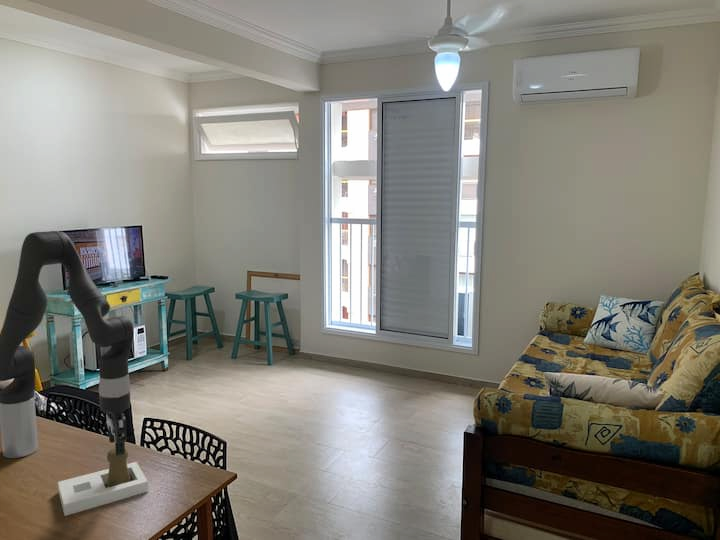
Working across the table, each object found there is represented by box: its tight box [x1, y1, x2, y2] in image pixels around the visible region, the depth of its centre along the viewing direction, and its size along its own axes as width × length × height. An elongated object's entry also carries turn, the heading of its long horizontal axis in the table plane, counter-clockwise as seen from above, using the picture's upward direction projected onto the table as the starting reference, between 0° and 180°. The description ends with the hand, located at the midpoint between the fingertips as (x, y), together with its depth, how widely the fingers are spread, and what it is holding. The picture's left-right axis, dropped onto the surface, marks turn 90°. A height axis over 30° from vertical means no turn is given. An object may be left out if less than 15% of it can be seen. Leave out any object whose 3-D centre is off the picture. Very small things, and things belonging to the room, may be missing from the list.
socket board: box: [57, 461, 149, 516], centre depth 144 cm, size 13×20×3 cm, turn 125°
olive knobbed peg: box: [106, 447, 131, 488], centre depth 146 cm, size 6×6×11 cm
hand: (117, 447), depth 145 cm, fingers open, 8 cm apart
